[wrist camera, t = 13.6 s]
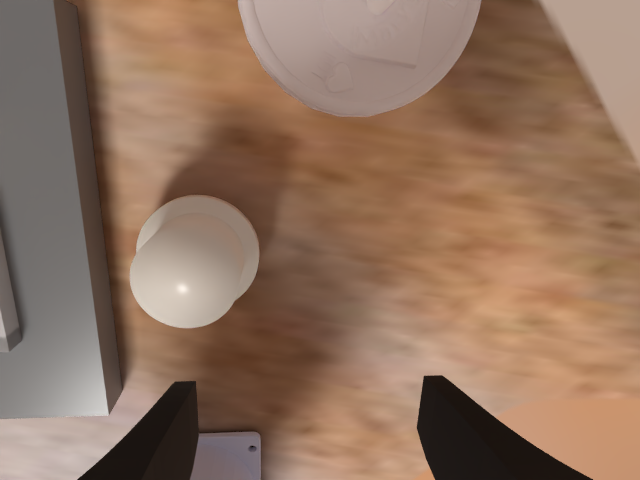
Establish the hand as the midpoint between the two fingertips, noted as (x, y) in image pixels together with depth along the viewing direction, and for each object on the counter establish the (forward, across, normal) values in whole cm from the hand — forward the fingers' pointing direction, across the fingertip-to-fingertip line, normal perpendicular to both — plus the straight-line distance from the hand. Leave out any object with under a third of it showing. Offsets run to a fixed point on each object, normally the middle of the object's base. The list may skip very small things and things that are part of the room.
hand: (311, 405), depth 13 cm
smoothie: (+11, -1, -12) cm, 16 cm away
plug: (+10, +5, -2) cm, 12 cm away
